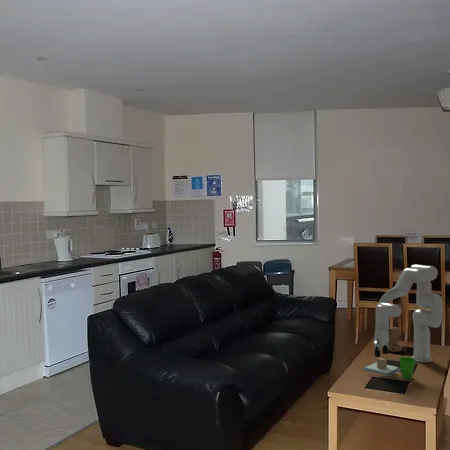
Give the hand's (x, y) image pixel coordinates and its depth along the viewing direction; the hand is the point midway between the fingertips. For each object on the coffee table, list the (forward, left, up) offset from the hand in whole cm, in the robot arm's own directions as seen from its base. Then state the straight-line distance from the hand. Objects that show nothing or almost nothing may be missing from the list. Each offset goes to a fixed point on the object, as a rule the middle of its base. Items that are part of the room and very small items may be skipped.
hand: (381, 355), depth 307 cm
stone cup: (-50, -16, -9) cm, 53 cm away
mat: (-1, 0, -9) cm, 9 cm away
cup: (+3, +17, -9) cm, 20 cm away
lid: (-1, 0, -8) cm, 8 cm away
